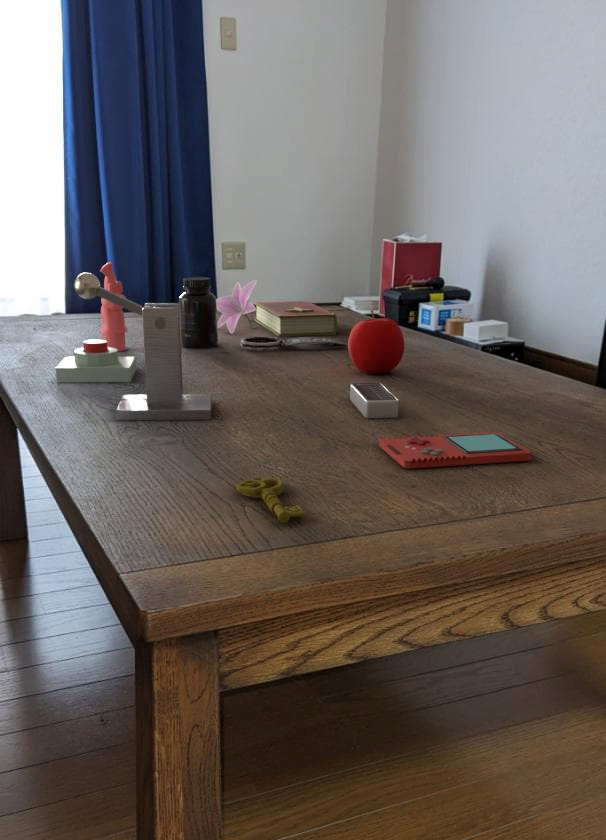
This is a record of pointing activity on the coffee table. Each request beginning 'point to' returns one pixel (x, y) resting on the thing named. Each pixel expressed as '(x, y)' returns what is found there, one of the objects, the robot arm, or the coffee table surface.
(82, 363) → the box
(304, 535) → the coffee table surface
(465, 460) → the handheld gaming console
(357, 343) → the fruit
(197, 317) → the supplement bottle
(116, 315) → the figurine
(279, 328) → the book
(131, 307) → the lock lever
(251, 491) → the key
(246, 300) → the lily
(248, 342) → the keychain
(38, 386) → the coffee table surface
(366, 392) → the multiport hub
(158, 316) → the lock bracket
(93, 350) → the button
